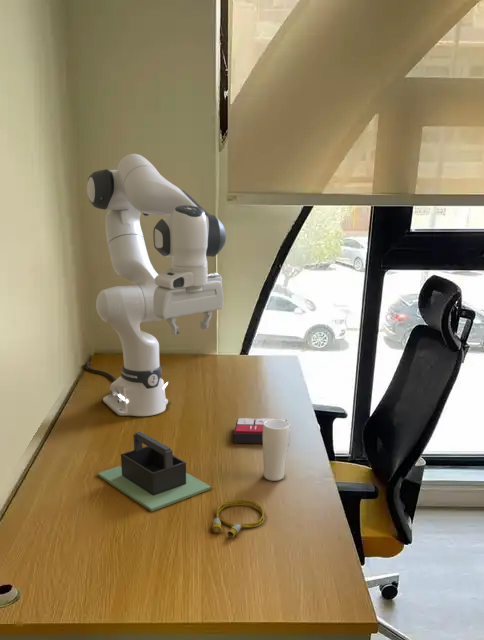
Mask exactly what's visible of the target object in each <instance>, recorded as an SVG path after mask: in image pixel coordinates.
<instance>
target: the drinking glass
mask: <svg viewBox="0 0 484 640" xmlns="http://www.w3.org/2000/svg"><path fill="white" fill-rule="evenodd" d="M269 419H270V420H267V421H265V422H264V423H263V443H262V457H263V460H262V461H263V477H264V478H265V479H266V480H268V481H272V482H278V481H281V480H283V479H284V477H285V470H286V469H285V468H286V463H287V456H288V450H289V445H290V444H289V443H290V433H291V432H290V431H291V429H290V428H291V425H290V424H291V423H289V421H288V420H287V421H285V420H286V419H285V420H281V419H282V418H281V419H280V418H269Z"/></svg>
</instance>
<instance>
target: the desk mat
mask: <svg viewBox="0 0 484 640" xmlns="http://www.w3.org/2000/svg"><path fill="white" fill-rule="evenodd" d="M97 476H98V477H99V478H100V479H102V480H104V481H106V482H107V484H110V485H111V486H112V487H114V488H115V489H117V490H118V491H120V492H121V493H123V494H124V495H126V496H127V497H129V498H130V499H132V500H133V501H135V502H136V503H138V504H140V505H141V506H142V507H144V508H145V509H147V510H148V511H150V512H152V513H153V512H155V511H157V510H161V509H163V508H165V507H168V506H170V505H174V504H175V503H178V502H181V501H183V500H186V499H189V498H192V497H195V496H197V495H200V494H202V493H204V492H208V491H209V490H212V487H211V485H209V484H208V483H206V482H203V481H202V480H201V479H199V478H197V477H195V476H193V475H191V474H190V473H188V472H186V484H184V485H182V486H179V487H176V488H173V489H171V490H168V491H165V492H162V493H160V494H157V495H154V496H153V495H151V494H150V493H148V492H147V491H145V490H144V489H142V488H141V487H139V486H138V485H136V484H135V483H133V482H131V481H130V480H128V479H127V478H125V477H124V476H122V467H121V465H118V466H115V467H112V468H110V469H106V470H103V471H99V472H97Z"/></svg>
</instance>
